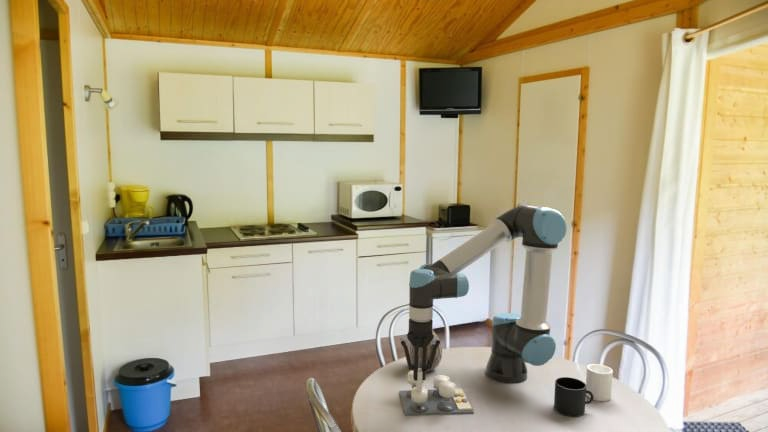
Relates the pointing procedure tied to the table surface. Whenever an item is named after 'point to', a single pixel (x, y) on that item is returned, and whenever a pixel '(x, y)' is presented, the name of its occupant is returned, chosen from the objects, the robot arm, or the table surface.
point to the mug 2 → (599, 382)
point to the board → (436, 404)
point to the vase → (427, 354)
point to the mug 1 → (570, 396)
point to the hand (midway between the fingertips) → (419, 389)
